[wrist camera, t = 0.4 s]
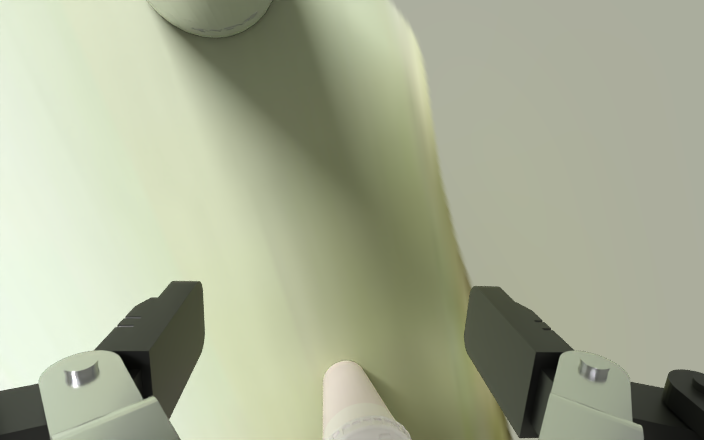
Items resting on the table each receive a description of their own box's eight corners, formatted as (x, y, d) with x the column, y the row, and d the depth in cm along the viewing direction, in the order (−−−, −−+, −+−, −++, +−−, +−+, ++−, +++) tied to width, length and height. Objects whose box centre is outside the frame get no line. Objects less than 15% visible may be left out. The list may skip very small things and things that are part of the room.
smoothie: (360, 332, 34) (416, 461, 21) (392, 388, 36) (463, 541, 22) (293, 370, 34) (306, 527, 20) (328, 425, 35) (362, 604, 22)
